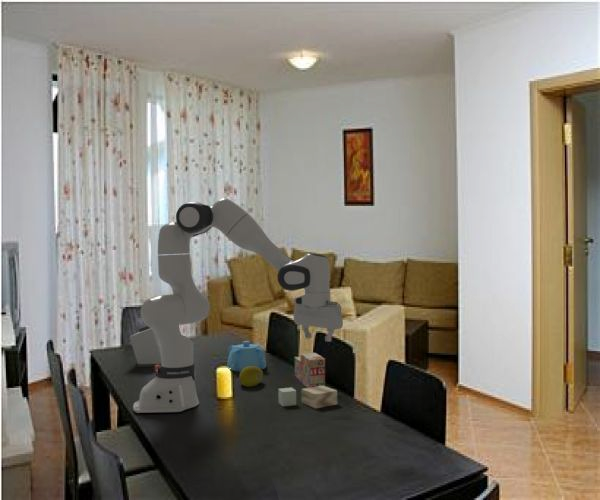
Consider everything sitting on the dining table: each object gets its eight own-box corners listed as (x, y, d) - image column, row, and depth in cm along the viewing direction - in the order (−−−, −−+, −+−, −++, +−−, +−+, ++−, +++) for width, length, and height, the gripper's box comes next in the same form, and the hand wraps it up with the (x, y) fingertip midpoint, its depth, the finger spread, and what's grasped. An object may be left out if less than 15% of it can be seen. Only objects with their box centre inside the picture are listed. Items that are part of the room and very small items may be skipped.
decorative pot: (265, 368, 272) (264, 337, 272) (266, 376, 256) (266, 343, 256) (228, 369, 271) (227, 338, 270) (227, 377, 255) (226, 345, 254)
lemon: (244, 390, 232) (243, 369, 232) (234, 386, 239) (234, 366, 239) (268, 386, 238) (268, 366, 238) (258, 382, 245) (258, 362, 245)
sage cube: (282, 406, 210) (282, 392, 210) (278, 402, 215) (278, 388, 215) (296, 405, 212) (296, 390, 212) (292, 401, 217) (291, 387, 216)
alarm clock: (166, 372, 266) (164, 326, 266) (130, 373, 267) (129, 326, 267) (177, 362, 287) (176, 319, 286) (144, 363, 288) (143, 320, 287)
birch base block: (315, 409, 207) (315, 394, 207) (301, 403, 215) (301, 388, 215) (337, 405, 212) (337, 390, 212) (323, 399, 219) (323, 385, 219)
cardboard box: (294, 379, 250) (293, 349, 249) (309, 378, 251) (308, 348, 251) (309, 392, 229) (309, 359, 229) (325, 390, 231) (325, 358, 231)
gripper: (346, 301, 207) (346, 342, 208) (303, 297, 222) (303, 335, 222) (334, 303, 203) (334, 344, 203) (290, 298, 217) (291, 337, 217)
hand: (318, 339), depth 213 cm, fingers open, 8 cm apart
